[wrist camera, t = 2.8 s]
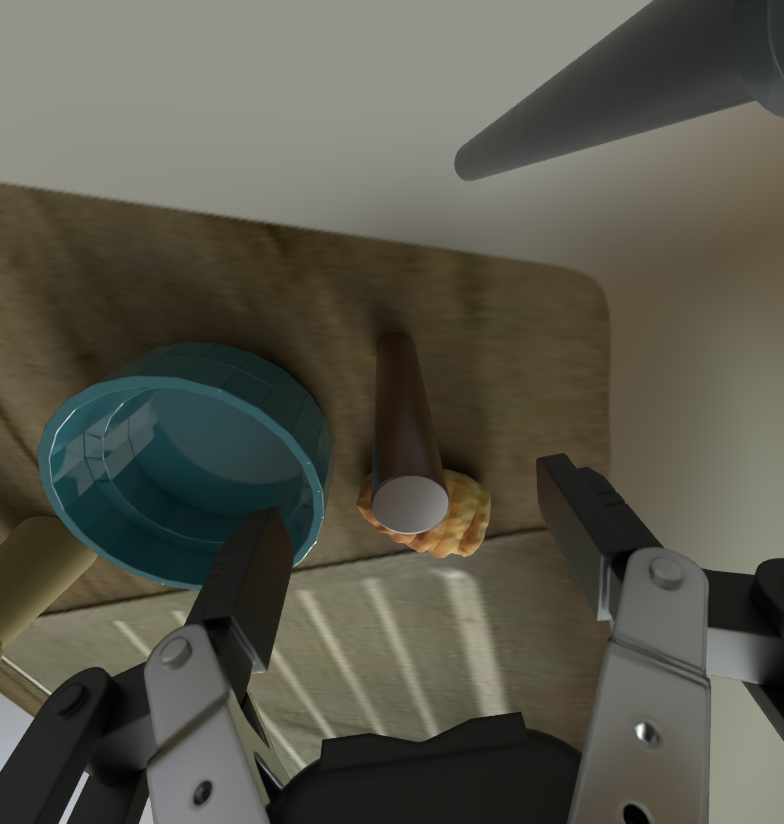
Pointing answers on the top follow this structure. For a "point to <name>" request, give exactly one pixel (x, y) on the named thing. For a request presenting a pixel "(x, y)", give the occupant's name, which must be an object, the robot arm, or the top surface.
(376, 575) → the top surface
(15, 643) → the top surface
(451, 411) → the top surface
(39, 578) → the cork
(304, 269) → the top surface
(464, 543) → the pastry
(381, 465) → the stirring stick
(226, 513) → the bowl
